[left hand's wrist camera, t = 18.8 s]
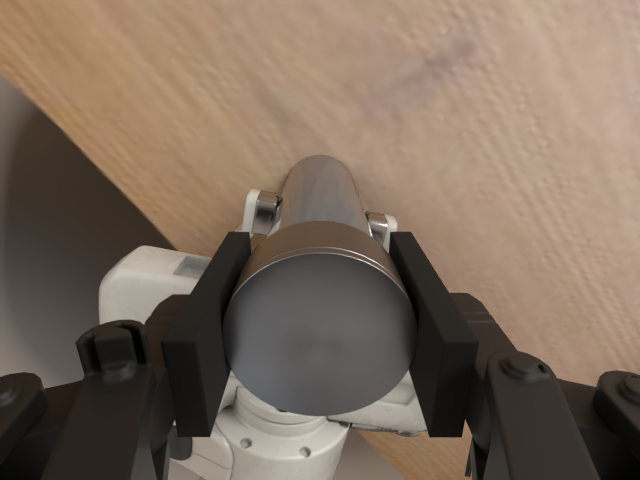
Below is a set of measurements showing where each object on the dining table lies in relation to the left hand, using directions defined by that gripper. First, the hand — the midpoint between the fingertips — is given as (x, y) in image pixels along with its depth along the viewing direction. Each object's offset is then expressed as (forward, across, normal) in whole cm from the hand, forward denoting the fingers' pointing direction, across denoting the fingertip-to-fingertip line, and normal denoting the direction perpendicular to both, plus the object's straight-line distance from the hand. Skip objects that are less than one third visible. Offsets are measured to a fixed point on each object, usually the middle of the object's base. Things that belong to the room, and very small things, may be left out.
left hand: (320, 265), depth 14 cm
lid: (-4, 0, 0) cm, 4 cm away
